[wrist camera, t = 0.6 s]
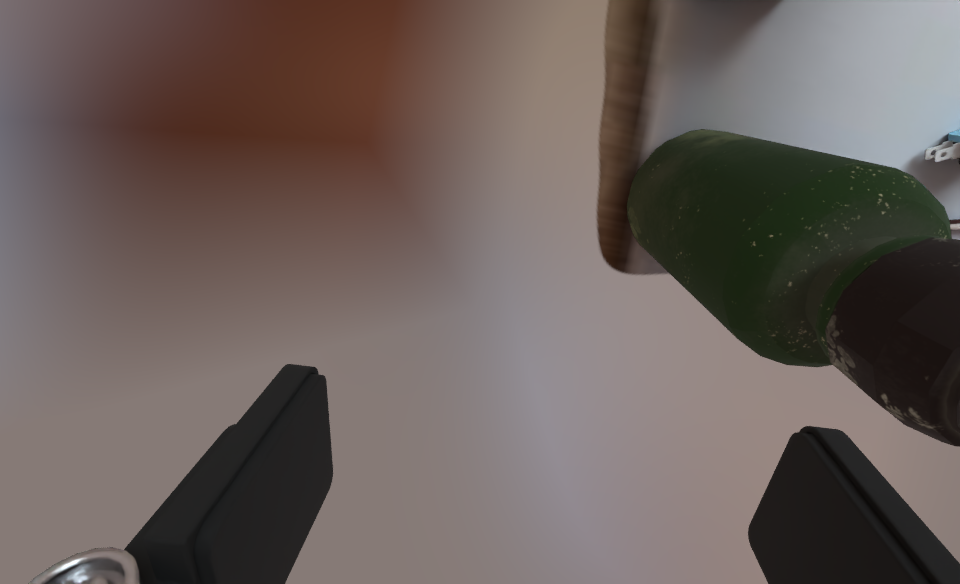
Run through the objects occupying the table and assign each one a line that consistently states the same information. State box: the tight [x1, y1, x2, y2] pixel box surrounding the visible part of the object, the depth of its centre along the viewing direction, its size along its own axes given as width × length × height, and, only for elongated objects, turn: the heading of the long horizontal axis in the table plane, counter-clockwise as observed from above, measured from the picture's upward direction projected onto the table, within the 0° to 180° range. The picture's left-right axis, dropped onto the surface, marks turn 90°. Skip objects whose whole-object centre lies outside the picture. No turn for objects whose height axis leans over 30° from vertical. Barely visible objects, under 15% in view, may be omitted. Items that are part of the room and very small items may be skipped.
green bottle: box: [627, 129, 960, 446], centre depth 26 cm, size 10×10×25 cm
